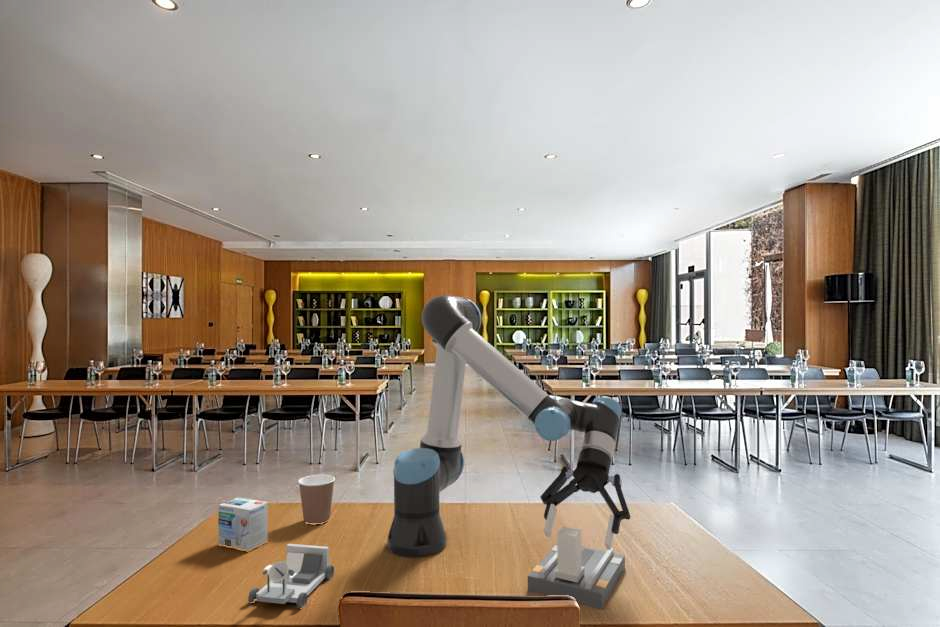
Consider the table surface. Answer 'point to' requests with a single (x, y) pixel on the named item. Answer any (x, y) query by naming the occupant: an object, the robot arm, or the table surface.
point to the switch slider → (569, 555)
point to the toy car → (295, 575)
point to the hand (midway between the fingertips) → (576, 540)
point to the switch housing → (591, 586)
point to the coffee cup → (316, 497)
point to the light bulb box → (242, 523)
